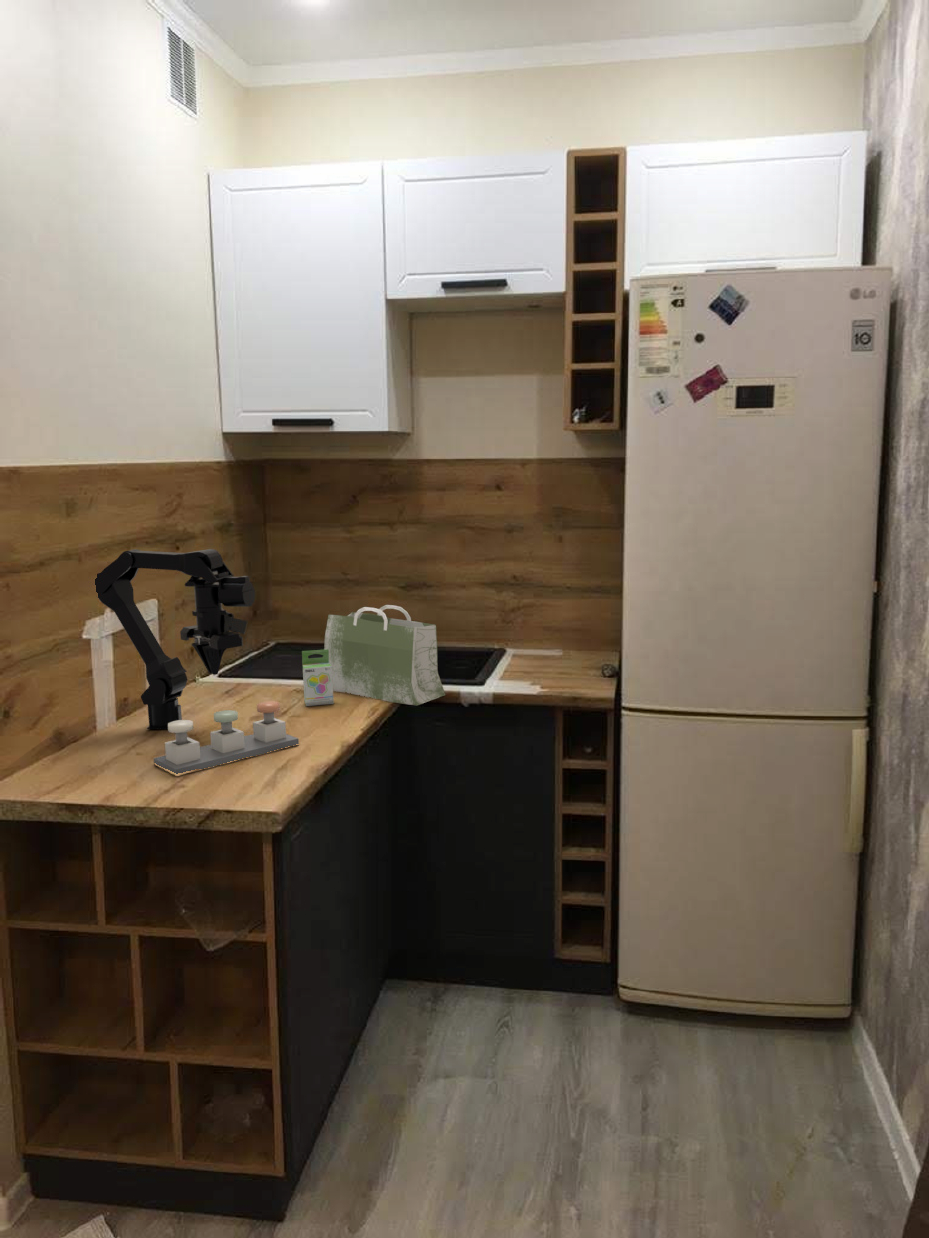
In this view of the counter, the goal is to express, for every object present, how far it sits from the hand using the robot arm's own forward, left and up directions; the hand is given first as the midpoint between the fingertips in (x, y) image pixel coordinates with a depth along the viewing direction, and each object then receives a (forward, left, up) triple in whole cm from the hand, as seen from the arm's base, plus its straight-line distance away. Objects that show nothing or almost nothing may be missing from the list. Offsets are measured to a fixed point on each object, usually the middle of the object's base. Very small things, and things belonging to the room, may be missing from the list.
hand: (213, 673), depth 213 cm
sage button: (+6, -20, -9) cm, 22 cm away
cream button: (-1, -26, -9) cm, 27 cm away
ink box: (+21, +20, -13) cm, 32 cm away
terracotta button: (+14, -13, -9) cm, 21 cm away
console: (+6, -19, -13) cm, 24 cm away
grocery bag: (+37, +30, -13) cm, 49 cm away
